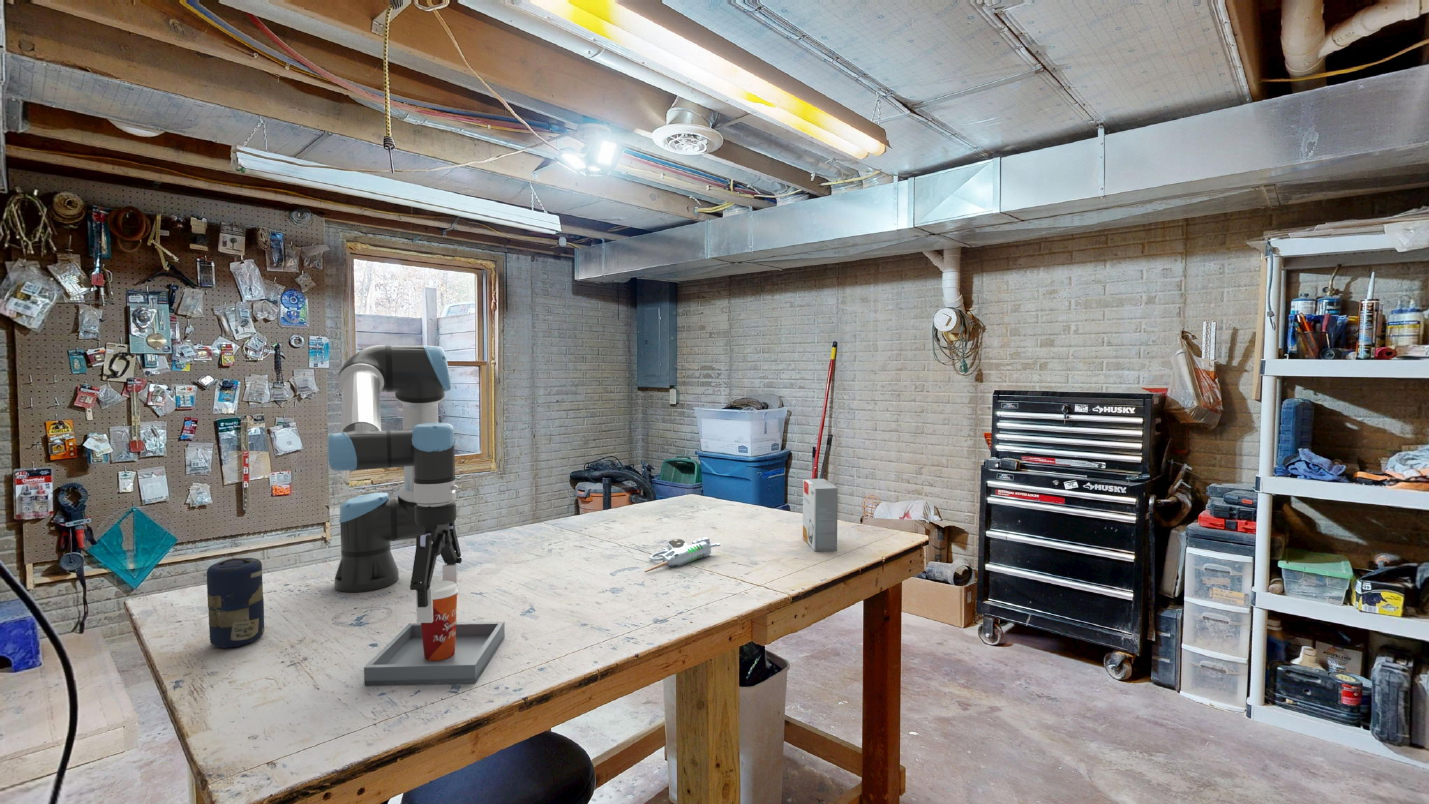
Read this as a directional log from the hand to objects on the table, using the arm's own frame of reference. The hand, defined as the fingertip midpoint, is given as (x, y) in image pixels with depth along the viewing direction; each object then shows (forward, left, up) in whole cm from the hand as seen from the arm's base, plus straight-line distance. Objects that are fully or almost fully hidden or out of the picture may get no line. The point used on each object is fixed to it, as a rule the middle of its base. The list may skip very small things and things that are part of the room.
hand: (438, 608), depth 131 cm
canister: (-11, -46, -11) cm, 48 cm away
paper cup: (0, 0, -10) cm, 10 cm away
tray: (0, 0, -10) cm, 10 cm away
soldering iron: (-63, +45, -11) cm, 78 cm away
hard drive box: (-77, +92, -11) cm, 120 cm away
